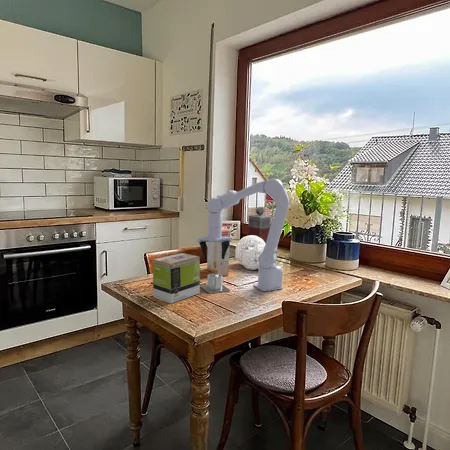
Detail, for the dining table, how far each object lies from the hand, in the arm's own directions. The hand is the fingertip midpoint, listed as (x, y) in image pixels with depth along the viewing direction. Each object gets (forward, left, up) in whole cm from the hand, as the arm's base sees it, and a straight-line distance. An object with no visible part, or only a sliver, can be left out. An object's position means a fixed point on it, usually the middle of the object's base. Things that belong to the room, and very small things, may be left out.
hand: (214, 259), depth 151 cm
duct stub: (+4, +9, -10) cm, 14 cm away
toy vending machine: (-43, -35, -10) cm, 56 cm away
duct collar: (+4, +9, -9) cm, 14 cm away
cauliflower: (-29, -15, -10) cm, 34 cm away
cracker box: (-8, -13, -10) cm, 18 cm away
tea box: (+20, +11, -10) cm, 25 cm away
